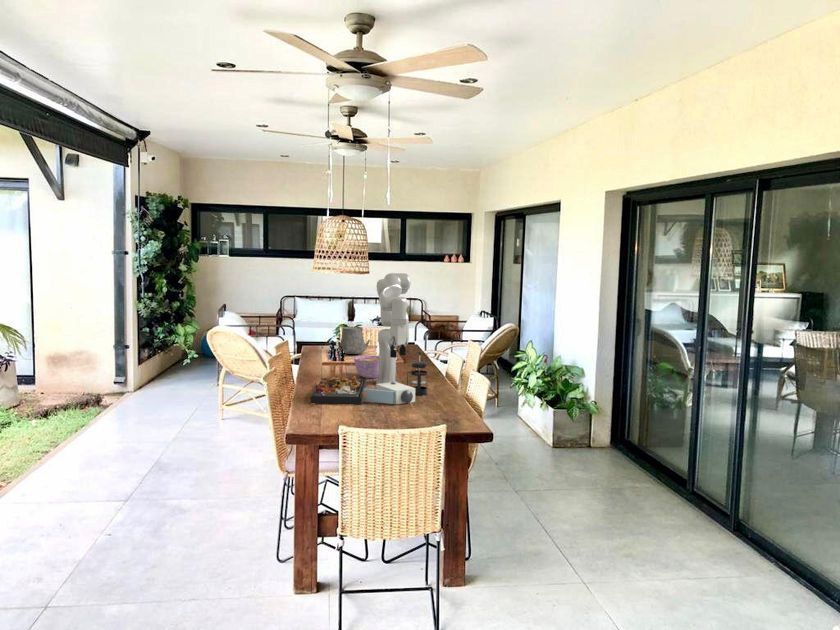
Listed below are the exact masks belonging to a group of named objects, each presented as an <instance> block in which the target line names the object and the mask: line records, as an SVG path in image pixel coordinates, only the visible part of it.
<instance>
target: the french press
mask: <svg viewBox="0 0 840 630" xmlns="http://www.w3.org/2000/svg"><path fill="white" fill-rule="evenodd" d="M415 353H417V354H418V356H419V361H412V362H411V367H412V368H413V369H415V370H411V371H407V375H406V376H407V377H406V385H407V386H409V374H410V376H414V377H415V376H416V377H417V380H413V381H412V380H411V385H414V386H412V387H413V388H415V397H416V396H418V397H423V396H422V395H425V396H428V386H422V385H428V381H429V380H428V378H429V377H428V375H429V372H428V371H427V370H421V369H426V367H427V365H429V362H427V361H421V356H422V354H424V351H421V350H418V351H416V352H415ZM416 369H418V370H416ZM425 376H426V381H425V380H422V377H425Z"/></svg>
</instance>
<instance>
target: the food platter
mask: <svg viewBox="0 0 840 630" xmlns="http://www.w3.org/2000/svg"><path fill="white" fill-rule="evenodd" d="M314 382H315V384H314V385H315V389H314V391H313V392H312V393H311V395H310V404H311V403H317V404H316V405H338V404H354V405H353V406H361V405H362V402H363V389H366V388H367V387H366V386H367V378H357V377H356V376H355V375H354V376H353V375H352V376H351V377H350V378H347V377H344V376H338V375H336V376H332V377H327V378H325V377H323V378H321V380H320V381H319V383H318V385H317V382H316V381H314ZM365 387H366V388H365ZM318 403H319V404H318Z"/></svg>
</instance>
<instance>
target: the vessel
mask: <svg viewBox="0 0 840 630" xmlns="http://www.w3.org/2000/svg"><path fill="white" fill-rule="evenodd" d="M363 329H364V328H363V327H361V326H342V335H341V340H340V342H339V346H341V347H342V349H343V351H344V353H345V354H344V355H347V354H360V355H362V354H364V352H366V350H367V348H368V346H369V344H370V341H371V340H370V339H368V340H367V342H366V343H365V340H364V336H363ZM361 353H362V354H361Z"/></svg>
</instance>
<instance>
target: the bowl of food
mask: <svg viewBox="0 0 840 630" xmlns="http://www.w3.org/2000/svg"><path fill="white" fill-rule="evenodd" d="M353 359H354V364H355V365H354V366H355V369H356V370H355V371H356V373H357V374H358V375H360V376H362V377H363V379H369V378H372V379H378V378H377V376H378V375H379V355H357V356H355V357H353Z"/></svg>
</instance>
